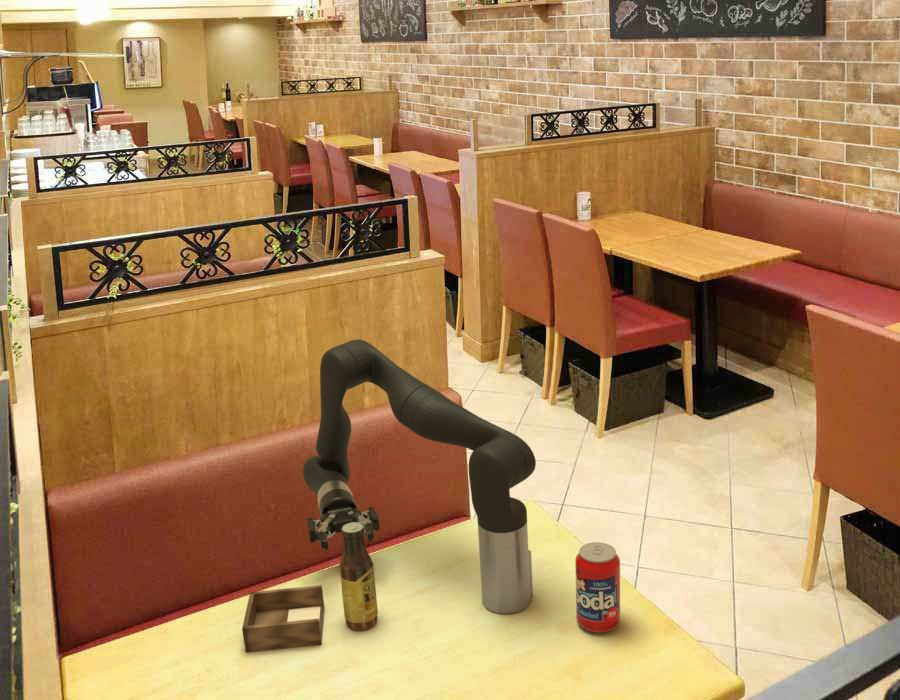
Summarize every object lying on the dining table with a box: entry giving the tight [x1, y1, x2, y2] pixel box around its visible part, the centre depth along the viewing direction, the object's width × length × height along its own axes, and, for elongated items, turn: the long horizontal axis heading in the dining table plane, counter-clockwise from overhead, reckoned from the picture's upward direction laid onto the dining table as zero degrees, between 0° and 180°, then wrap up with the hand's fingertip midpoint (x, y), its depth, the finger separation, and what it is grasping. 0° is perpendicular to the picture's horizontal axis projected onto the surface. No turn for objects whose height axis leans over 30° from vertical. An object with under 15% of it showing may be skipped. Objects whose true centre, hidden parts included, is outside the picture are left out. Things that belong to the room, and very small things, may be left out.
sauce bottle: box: [339, 522, 379, 631], centre depth 170 cm, size 7×6×20 cm
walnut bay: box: [241, 584, 325, 653], centre depth 171 cm, size 14×12×5 cm
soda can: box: [574, 541, 621, 633], centre depth 165 cm, size 8×8×15 cm
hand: (348, 542), depth 179 cm, fingers open, 8 cm apart
